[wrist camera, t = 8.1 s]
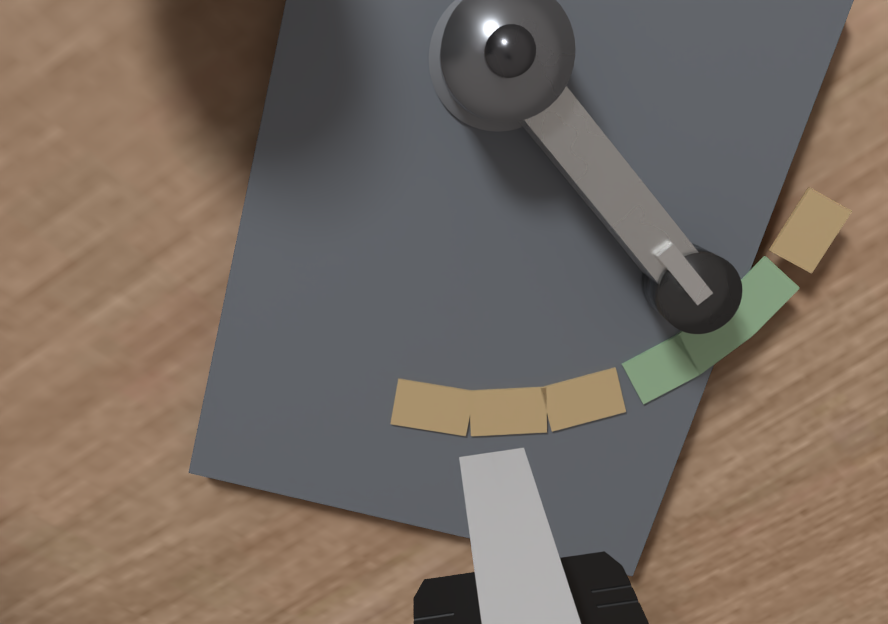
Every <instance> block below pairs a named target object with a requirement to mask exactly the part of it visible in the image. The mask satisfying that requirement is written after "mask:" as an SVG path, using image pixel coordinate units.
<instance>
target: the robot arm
mask: <svg viewBox="0 0 888 624" xmlns="http://www.w3.org/2000/svg"><path fill="white" fill-rule="evenodd" d="M459 460H460V467H461V475H462V482H463V490H464V497H465V504H466V512H467V519H468V526H469V534H470V541H471V548H472V556H473V563H474V570H475V572H472V573H465V574H458V575H452V576H445V577H438V578H431V579H424V581H423V582H422V584H421V586H420V588H419V589H418V591H417V593H416V595H415V596H414V624H649V623H648V621H647V618H646V616H645V614H644V612H643V610H642V607H641V605H640V603H638V599H637V596H636V594H635V592H634V590H633V588H632V587H631V583H630V581H629V579H628V577H627V574H626V572H625V570H624V568H623V566H622V565H621V564H620V563H619V562H617V561H616V560H615V559H614V558H612V557H611V556H610V555H609V554H607V553H606V552H605V551H603V552H596V553H589V554H582V555H576V556H569V557H562V558H560V557H559V554H558V551H557V548H556V545H555V542H554V539H553V536H552V533H551V529H550V526H549V523H548V520H547V517H546V514H545V511H544V508H543V505H542V502H541V499H540V496H539V493H538V489H537V486H536V483H535V480H534V477H533V474H532V471H531V468H530V465H529V462H528V459H527V456H526V453H525V450H524V448H518V449H511V450H505V451H498V452H491V453H484V454H477V455H470V456H463V457H459Z"/></svg>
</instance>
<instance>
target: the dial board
mask: <svg viewBox="0 0 888 624" xmlns="http://www.w3.org/2000/svg"><path fill="white" fill-rule="evenodd" d="M461 1H462V0H286V3H285V8H284V13H283V18H282V23H281V27H280V32H279V37H278V42H277V47H276V52H275V57H274V61H273V66H272V71H271V76H270V81H269V86H268V90H267V95H266V100H265V105H264V110H263V115H262V119H261V124H260V129H259V134H258V139H257V144H256V149H255V153H254V158H253V163H252V168H251V173H250V178H249V182H248V187H247V192H246V197H245V202H244V207H243V211H242V216H241V221H240V226H239V231H238V236H237V241H236V245H235V250H234V255H233V260H232V265H231V270H230V274H229V279H228V284H227V289H226V294H225V299H224V303H223V308H222V313H221V318H220V323H219V328H218V333H217V337H216V342H215V347H214V352H213V357H212V362H211V366H210V371H209V376H208V381H207V386H206V391H205V395H204V400H203V405H202V410H201V415H200V420H199V425H198V429H197V434H196V439H195V444H194V449H193V454H192V458H191V463H190V468H189V473H191V474H196V475H200V476H204V477H208V478H213V479H217V480H221V481H226V482H230V483H234V484H238V485H243V486H247V487H251V488H256V489H260V490H264V491H268V492H273V493H277V494H281V495H286V496H290V497H294V498H298V499H303V500H307V501H311V502H316V503H320V504H324V505H329V506H333V507H337V508H341V509H346V510H350V511H354V512H359V513H363V514H367V515H371V516H376V517H380V518H384V519H389V520H393V521H397V522H401V523H406V524H410V525H414V526H419V527H423V528H427V529H431V530H436V531H440V532H444V533H449V534H453V535H457V536H461V537H466V538H470V534H469V526H468V519H467V512H466V504H465V497H464V490H463V482H462V475H461V467H460V460H459V457H463V456H470V455H477V454H484V453H491V452H498V451H505V450H511V449H518V448H524V450H525V453H526V456H527V459H528V462H529V465H530V468H531V471H532V474H533V477H534V480H535V483H536V486H537V489H538V493H539V496H540V499H541V502H542V505H543V508H544V511H545V514H546V517H547V520H548V523H549V526H550V529H551V533H552V536H553V539H554V542H555V545H556V548H557V551H558V554H559V557H560V558H562V557H569V556H576V555H582V554H589V553H596V552H603V551H605V552H606V553H607V554H609V555H610V556H611V557H612V558H614V559H615V560H616V561H617V562H619V563H620V564H621V565H622V566H623V568H624V570H625V572H626V574H627V575H629V576H633V574H634V571H635V569H636V566H637V564H638V561H639V558H640V556H641V553H642V551H643V548H644V545H645V543H646V540H647V538H648V535H649V532H650V530H651V527H652V525H653V522H654V519H655V517H656V514H657V512H658V509H659V506H660V504H661V501H662V498H663V496H664V493H665V491H666V488H667V485H668V483H669V480H670V478H671V475H672V472H673V470H674V467H675V465H676V462H677V459H678V457H679V454H680V452H681V449H682V446H683V444H684V441H685V439H686V436H687V433H688V431H689V428H690V426H691V423H692V420H693V418H694V415H695V412H696V410H697V407H698V405H699V402H700V399H701V397H702V394H703V392H704V389H705V386H706V384H707V381H708V379H709V376H710V373H711V371H712V368H713V366H714V364H715V363H717V362H718V361H719V360H721V359H722V358H724V357H725V356H726V355H728V354H729V353H730V352H732V351H733V350H734V349H736V348H737V347H738V346H740V345H741V344H742V343H744V342H745V341H746V340H748V339H749V338H750V337H752V335H754V334H755V333H756V332H757V331H758V330H759V329H760V328H761V327H762V326H763V325H764V324H765V323H766V322H767V321H768V320H769V319H770V318H771V317H772V316H773V315H774V314H775V313H776V312H777V311H778V310H779V309H780V308H781V307H782V306H783V305H784V304H785V303H786V302H787V301H788V300H789V299H790V298H791V297H792V296H793V295H794V294H795V292H796V291H797V290H798V289H799V287H798V286H797V285H796V284H795V283H794V282H793V281H792V280H791V279H790V278H789V277H787V276H786V275H785V274H784V273H783V272H782V271H781V270H780V269H779V268H778V267H777V266H776V265H775V264H773V263H772V262H771V261H770V260H769V259H768V258H767V257H766V256H763V258H762V259H761V260H760V261H759V262H758V263H757V264H756V265H755V266H754V267H753V268H752V269H751V267H752V264H753V261H754V259H755V256H756V254H757V251H758V248H759V246H760V243H761V240H762V238H763V235H764V233H765V230H766V227H767V225H768V222H769V220H770V217H771V214H772V212H773V209H774V207H775V204H776V201H777V199H778V196H779V194H780V191H781V188H782V186H783V183H784V181H785V178H786V175H787V173H788V170H789V168H790V165H791V162H792V160H793V157H794V154H795V152H796V149H797V147H798V144H799V141H800V139H801V136H802V134H803V131H804V128H805V126H806V123H807V121H808V118H809V115H810V113H811V110H812V108H813V105H814V102H815V100H816V97H817V95H818V92H819V89H820V87H821V84H822V82H823V79H824V76H825V74H826V71H827V68H828V66H829V63H830V61H831V58H832V55H833V53H834V50H835V48H836V45H837V42H838V40H839V37H840V35H841V32H842V29H843V27H844V24H845V22H846V19H847V16H848V14H849V11H850V9H851V6H852V3H853V1H854V0H556V1H557V2H558V3H559V4H560V5H561V7H562V8H563V10H564V11H565V12H566V14H567V16H568V18H569V20H570V23H571V26H572V29H573V33H574V37H575V48H576V50H575V61H574V67H573V70H572V74H571V77H570V79H569V81H568V84H567V85H566V86H567V87H568V89H569V90H570V91H571V92H572V94H573V95H574V96H575V97H576V99H577V100H578V101H579V102H580V104H581V105H582V106H583V107H584V109H585V110H586V111H587V113H588V114H589V115H590V116H591V118H592V119H593V120H594V121H595V123H596V124H597V125H598V126H599V128H600V129H601V130H602V131H603V133H604V134H605V135H606V136H607V138H608V139H609V140H610V141H611V143H612V144H613V145H614V146H615V148H616V149H617V150H618V151H619V153H620V154H621V155H622V157H623V158H624V159H625V160H626V162H627V163H628V164H629V165H630V167H631V168H632V169H633V170H634V172H635V173H636V174H637V175H638V177H639V178H640V179H641V180H642V182H643V183H644V184H645V185H646V187H647V188H648V189H649V190H650V192H651V193H652V194H653V195H654V197H655V198H656V199H657V200H658V202H659V203H660V204H661V206H662V207H663V208H664V209H665V211H666V212H667V213H668V214H669V216H670V217H671V218H672V219H673V221H674V222H675V223H676V224H677V226H678V227H679V228H680V229H681V231H682V232H683V233H684V234H685V236H686V237H687V238H688V239H689V241H690V242H691V243H692V244H696V245H698V246H700V247H702V248H704V249H706V250H708V251H710V252H712V253H714V254H716V255H718V256H720V257H722V258H724V259H725V260H727V261H728V262H729V263H731V264H732V265H733V266H734V267H735V269H736V270H737V272H738V274H739V276H740V279H741V282H742V299H741V303H740V305H739V308H738V310H737V312H736V313H735V315H734V316H733V317H732V318H731V320H730V321H729V322H727V323H726V324H725V325H724V326H722V327H721V328H719V329H717V330H715V331H713V332H710V333H706V334H689V333H686V332H683V331H680V330H679V329H677V328H675V327H674V326H673V325H671V324H670V323H669V322H668V321H667V320H666V319H665V318H664V317H662V316H661V315H660V314H659V313H658V312H657V311H656V310H655V309H653V308H652V307H651V306H650V305H649V303H648V302H647V301H646V299H645V297H644V294H643V292H642V286H641V279H642V273H643V272H642V271H641V269H640V268H639V267H638V266H637V265H636V263H635V262H634V261H633V260H632V258H631V257H630V256H629V255H628V254H627V252H626V251H625V250H624V249H623V248H622V246H621V245H620V244H619V243H618V241H617V240H616V239H615V238H614V237H613V235H612V234H611V233H610V232H609V231H608V229H607V228H606V227H605V226H604V224H603V223H602V222H601V221H600V220H599V218H598V217H597V216H596V215H595V214H594V212H593V211H592V210H591V209H590V207H589V206H588V205H587V204H586V203H585V201H584V200H583V199H582V198H581V196H580V195H579V194H578V193H577V192H576V190H575V189H574V188H573V187H572V186H571V184H570V183H569V182H568V181H567V179H566V178H565V177H564V176H563V175H562V173H561V172H560V171H559V170H558V169H557V167H556V166H555V165H554V164H553V162H552V161H551V160H550V159H549V158H548V156H547V155H546V154H545V153H544V152H543V150H542V149H541V148H540V147H539V145H538V144H537V143H536V142H535V141H534V139H533V138H532V137H531V136H530V134H529V133H528V132H527V131H526V130H525V128H524V127H523V126H522V125H521V124H520V122H519V121H516V122H498V121H492V120H486V119H483V118H479V117H477V116H475V115H473V114H471V113H469V112H468V111H466V110H465V109H463V108H462V107H461V106H460V105H459V104H458V103H457V102H456V101H455V100H454V99H453V97H452V96H451V95H450V93H449V91H448V90H447V88H446V86H445V83H444V81H443V78H442V74H441V70H440V47H441V42H442V37H443V33H444V29H445V27H446V24H447V22H448V20H449V18H450V16H451V14H452V12H453V11H454V10H455V8H456V7H457V5H458V4H459V3H460V2H461ZM851 212H852V211H851V210H849V209H847V208H845V207H844V206H842V205H840V204H838V203H837V202H835V201H833V200H831V199H829V198H828V197H826V196H824V195H822V194H821V193H819V192H817V191H815V190H813V189H812V188H809V187H808V189H807V190H806V192H805V193H804V195H803V197H802V198H801V200H800V201H799V203H798V204H797V206H796V208H795V209H794V211H793V212H792V214H791V216H790V217H789V219H788V220H787V222H786V223H785V225H784V227H783V228H782V230H781V231H780V233H779V235H778V236H777V238H776V239H775V241H774V243H773V244H772V246H771V247H770V249H769V251H771V252H772V253H774V254H776V255H778V256H780V257H782V258H784V259H785V260H787V261H789V262H791V263H793V264H795V265H796V266H798V267H800V268H802V269H804V270H806V271H808V272H809V273H812V272H813V271H814V269H815V268H816V266H817V265H818V263H819V262H820V260H821V258H822V257H823V255H824V254H825V252H826V251H827V249H828V248H829V246H830V245H831V243H832V241H833V240H834V238H835V237H836V235H837V234H838V232H839V231H840V229H841V228H842V226H843V225H844V223H845V221H846V220H847V218H848V217H849V215H850V214H851ZM750 269H751V270H750Z"/></svg>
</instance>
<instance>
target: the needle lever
mask: <svg viewBox="0 0 888 624" xmlns="http://www.w3.org/2000/svg"><path fill="white" fill-rule="evenodd" d="M575 50H576V48H575V37H574V33H573V29H572V26H571V23H570V20H569V18H568V16H567V14H566V12H565V11H564V10H563V8H562V7H561V5H560V4H559V3H558V2H557V1H556V0H462V1H461V2H460V3H459V4H458V5H457V7H456V8H455V10H454V11H453V12H452V14H451V16H450V18H449V20H448V22H447V24H446V27H445V29H444V33H443V37H442V42H441V47H440V70H441V74H442V78H443V81H444V83H445V86H446V88H447V90H448V91H449V93H450V95H451V96H452V97H453V99H454V100H455V101H456V102H457V103H458V104H459V105H460V106H461V107H462V108H463V109H465V110H466V111H468V112H469V113H471V114H473V115H475V116H477V117H479V118H483V119H486V120H492V121H498V122H516V121H519V122H520V124H521V125H522V126H523V127H524V128H525V130H526V131H527V132H528V133H529V134H530V136H531V137H532V138H533V139H534V141H535V142H536V143H537V144H538V145H539V147H540V148H541V149H542V150H543V152H544V153H545V154H546V155H547V156H548V158H549V159H550V160H551V161H552V162H553V164H554V165H555V166H556V167H557V169H558V170H559V171H560V172H561V173H562V175H563V176H564V177H565V178H566V179H567V181H568V182H569V183H570V184H571V186H572V187H573V188H574V189H575V190H576V192H577V193H578V194H579V195H580V196H581V198H582V199H583V200H584V201H585V203H586V204H587V205H588V206H589V207H590V209H591V210H592V211H593V212H594V214H595V215H596V216H597V217H598V218H599V220H600V221H601V222H602V223H603V224H604V226H605V227H606V228H607V229H608V231H609V232H610V233H611V234H612V235H613V237H614V238H615V239H616V240H617V241H618V243H619V244H620V245H621V246H622V248H623V249H624V250H625V251H626V252H627V254H628V255H629V256H630V257H631V258H632V260H633V261H634V262H635V263H636V265H637V266H638V267H639V268H640V269H641V271H642V272H643V273H642V279H641V286H642V292H643V294H644V297H645V299H646V301H647V302H648V303H649V305H650V306H651V307H652V308H653V309H655V310H656V311H657V312H658V313H659V314H660V315H661V316H662V317H664V318H665V319H666V320H667V321H668V322H669V323H670V324H671V325H673V326H674V327H675V328H677V329H679V330H680V331H683V332H686V333H689V334H706V333H710V332H713V331H715V330H717V329H719V328H721V327H722V326H724V325H725V324H726V323H727V322H729V321H730V320H731V318H732V317H733V316H734V315H735V313H736V312H737V310H738V308H739V305H740V303H741V299H742V282H741V279H740V276H739V274H738V272H737V270H736V269H735V267H734V266H733V265H732V264H731V263H729V262H728V261H727V260H725V259H724V258H722V257H720V256H718V255H716V254H714V253H712V252H710V251H708V250H706V249H704V248H702V247H700V246H698V245H696V244H692V243H691V242H690V241H689V239H688V238H687V237H686V236H685V234H684V233H683V232H682V231H681V229H680V228H679V227H678V226H677V224H676V223H675V222H674V221H673V219H672V218H671V217H670V216H669V214H668V213H667V212H666V211H665V209H664V208H663V207H662V206H661V204H660V203H659V202H658V200H657V199H656V198H655V197H654V195H653V194H652V193H651V192H650V190H649V189H648V188H647V187H646V185H645V184H644V183H643V182H642V180H641V179H640V178H639V177H638V175H637V174H636V173H635V172H634V170H633V169H632V168H631V167H630V165H629V164H628V163H627V162H626V160H625V159H624V158H623V157H622V155H621V154H620V153H619V151H618V150H617V149H616V148H615V146H614V145H613V144H612V143H611V141H610V140H609V139H608V138H607V136H606V135H605V134H604V133H603V131H602V130H601V129H600V128H599V126H598V125H597V124H596V123H595V121H594V120H593V119H592V118H591V116H590V115H589V114H588V113H587V111H586V110H585V109H584V107H583V106H582V105H581V104H580V102H579V101H578V100H577V99H576V97H575V96H574V95H573V94H572V92H571V91H570V90H569V89H568V87H567V86H566V85H567V84H568V81H569V79H570V77H571V74H572V70H573V67H574V61H575Z"/></svg>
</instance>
